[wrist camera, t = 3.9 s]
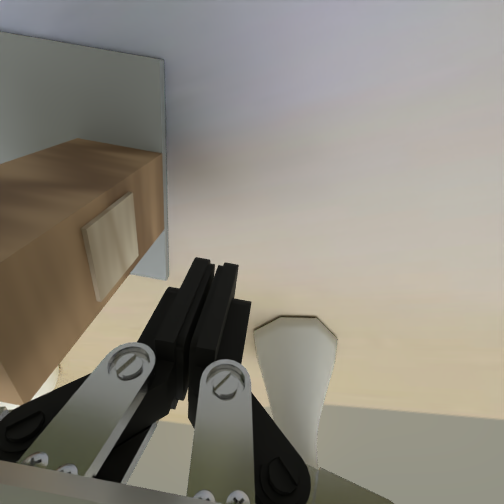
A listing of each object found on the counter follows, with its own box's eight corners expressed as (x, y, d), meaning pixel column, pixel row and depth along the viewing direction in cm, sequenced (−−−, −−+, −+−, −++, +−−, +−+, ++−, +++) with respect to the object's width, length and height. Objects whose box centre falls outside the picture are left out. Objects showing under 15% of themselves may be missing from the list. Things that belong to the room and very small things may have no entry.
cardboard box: (165, 154, 16) (-32, 290, 6) (167, 229, 19) (31, 407, 9) (77, 138, 17) (-252, 248, 7) (91, 215, 19) (-125, 376, 9)
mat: (164, 59, 14) (159, 59, 14) (168, 275, 22) (166, 280, 22) (-178, 0, 15) (-194, -2, 14) (-56, 233, 23) (-64, 237, 22)
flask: (270, 375, 28) (261, 509, 19) (239, 323, 24) (212, 458, 16) (347, 363, 25) (374, 509, 17) (325, 305, 22) (345, 450, 14)
